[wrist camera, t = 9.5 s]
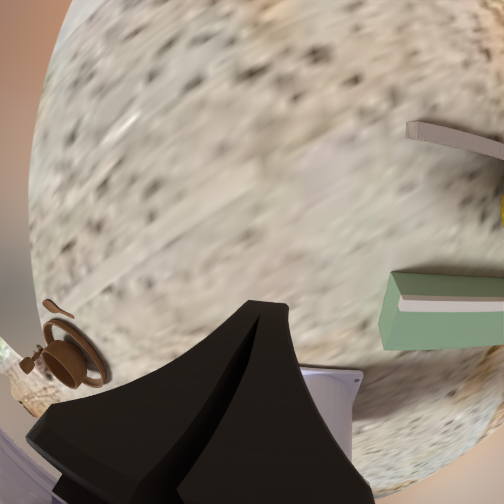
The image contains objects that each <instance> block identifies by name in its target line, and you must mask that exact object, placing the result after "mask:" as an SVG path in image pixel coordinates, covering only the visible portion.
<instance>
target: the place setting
mask: <svg viewBox="0 0 504 504" xmlns="http://www.w3.org/2000/svg"><path fill="white" fill-rule="evenodd" d="M42 304H43V306H44V307H45V308H46V309H48V310H49V311H50V312H52V313H58V312H59V313H62V314H64V315H67V316H69V317H71V318H73V319H74V316H73V315H71V314H69V313H67V312H65V311H62V310H60V309H59V308H58V307H57V306H56V305H55V304H54V303H53V302H51V301H49V300H44V301H43V302H42ZM52 325H55V326H58V327H60V328H61V329H63V330H64V331H66V332H67V333H68V334H69V335H71V336H72V337H73V338H74V339H75V340H76V341H77V342H78V343H79V344H80V345H81V346H82V347H83V348H84V350H85V351H86V352H87V353H88V354H89V356H90V357H91V358H92V360H93V361H94V363H95V364H96V366H97V368H98V370H99V372H100V374H101V378H100V379H92V378H90V377H87V376H86V375H87V367H86V364H85V357H84V355H83V354H82V352H81V351H80V350H79V349H78V348H77V347H76V346H75V345H74V344H72V343H70V342H64V341H62V340H55V341H54V340H53V337H52V332H51V328H52ZM43 335H44V338H45V341H46V343H47V345H48V346H47V347H46V348H45V349H43V348H42V347H41V346H40V345H38V344H37V349H38V352H36V353H35V354H34V356H33V357H32V359H31V358H30V357H26V358H24V359H23V360H22V361H21V362H20V363H19V366H20V368H21V369H22V370H23V371H24V372H25V373H26V374H27V375H28V374H29V373H30V372H31V371H32V369H33V368H34V366H35V364H34V361H35V360H36V359H37V358H39V356H40V354H41V355H42V358H43V360H44V362H45V364H46V366H47V367H48V369H49V370H50V371H51V372H52V374H53V375H54V376H55V377H56V378H57V379H58V380H59V381H61V382H62V383H63V384H64V385H66V386H67V387H69V388H71V389H77V388H78V387H79V386H80V384H81V383H83V384H85V385H87V386H90V387H93V388H100V387H102V386H103V385H104V383H105V380H106V371H105V368H104V365H103V363H102V361H101V360H100V358H99V356H98V355H97V353H96V352H95V351H94V349H93V348H92V347H91V345H90V344H89V343H88V342H87V341H86V340H85V339H84V338H83V337H82V336H81V335H80V334H79V333H78V332H77V331H76V330H75V329H73V328H72V327H71V326H69V325H68V324H66V323H64V322H62V321H59V320H50V321H48V322H46V323H45V324H44V326H43Z"/></svg>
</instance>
